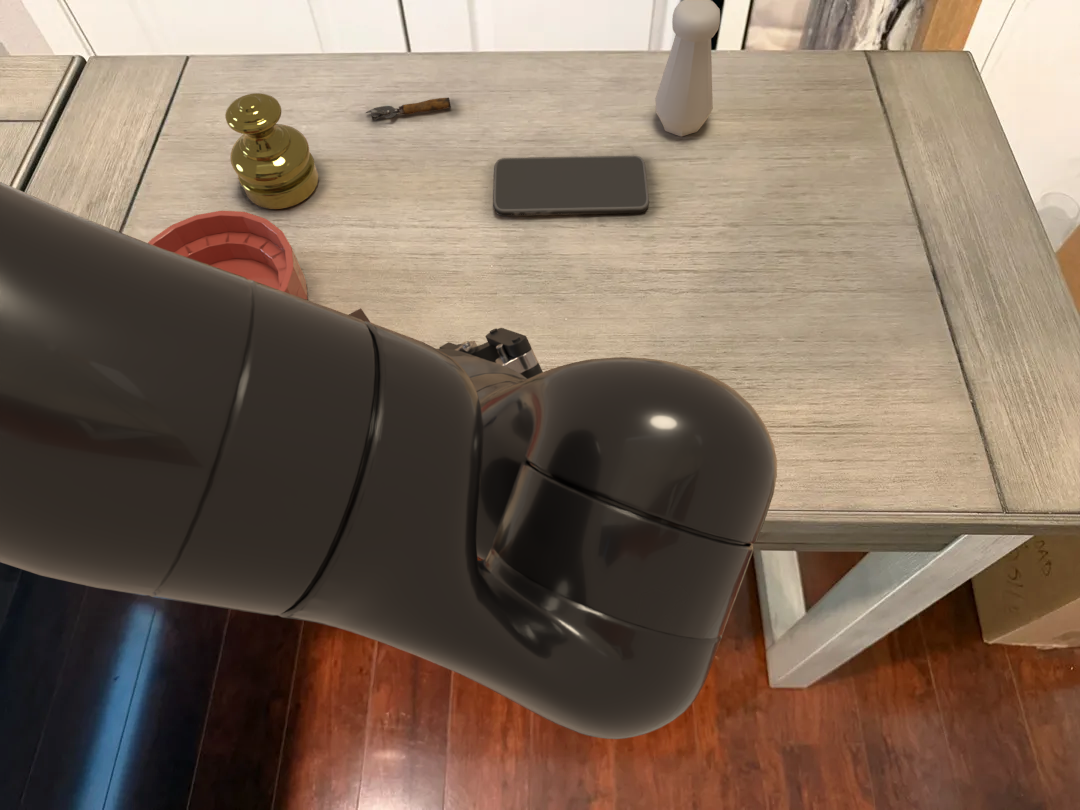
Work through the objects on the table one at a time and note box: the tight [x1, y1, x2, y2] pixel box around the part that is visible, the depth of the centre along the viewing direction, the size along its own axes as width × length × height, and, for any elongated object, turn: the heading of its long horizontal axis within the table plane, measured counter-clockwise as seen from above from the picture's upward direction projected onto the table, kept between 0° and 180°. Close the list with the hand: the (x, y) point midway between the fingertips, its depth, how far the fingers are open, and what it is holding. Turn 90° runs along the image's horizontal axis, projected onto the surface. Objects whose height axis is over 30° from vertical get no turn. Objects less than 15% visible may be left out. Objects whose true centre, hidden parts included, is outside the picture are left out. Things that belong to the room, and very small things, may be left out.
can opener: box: [365, 97, 452, 121], centre depth 85 cm, size 9×2×1 cm, turn 94°
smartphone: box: [492, 155, 650, 217], centre depth 79 cm, size 7×1×15 cm
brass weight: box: [224, 92, 319, 210], centre depth 77 cm, size 7×7×10 cm
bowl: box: [147, 210, 308, 300], centre depth 72 cm, size 14×14×5 cm
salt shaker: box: [654, 0, 721, 137], centre depth 78 cm, size 6×6×13 cm
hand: (393, 389), depth 53 cm, fingers open, 8 cm apart
